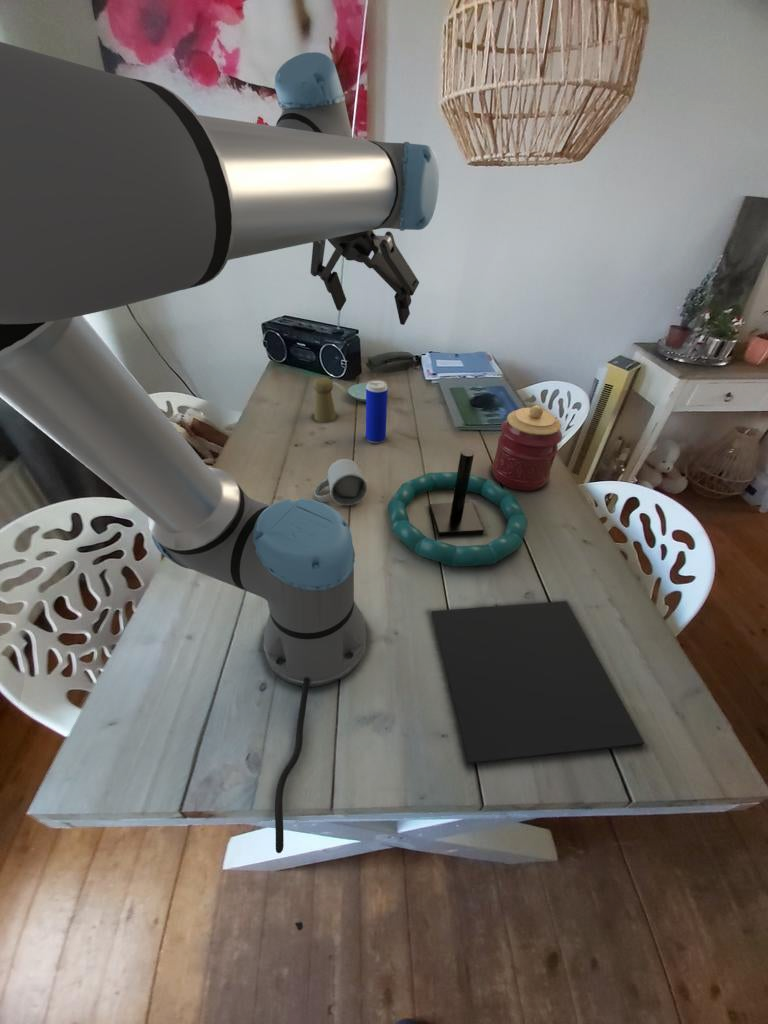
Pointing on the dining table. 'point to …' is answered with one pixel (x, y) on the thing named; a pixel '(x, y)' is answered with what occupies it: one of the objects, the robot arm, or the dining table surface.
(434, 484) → the hoop
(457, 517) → the stand
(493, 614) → the mat
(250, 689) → the dining table surface
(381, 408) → the beverage can
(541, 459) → the kitchen canister
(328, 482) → the ceramic mug
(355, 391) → the saucer
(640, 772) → the dining table surface
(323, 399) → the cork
